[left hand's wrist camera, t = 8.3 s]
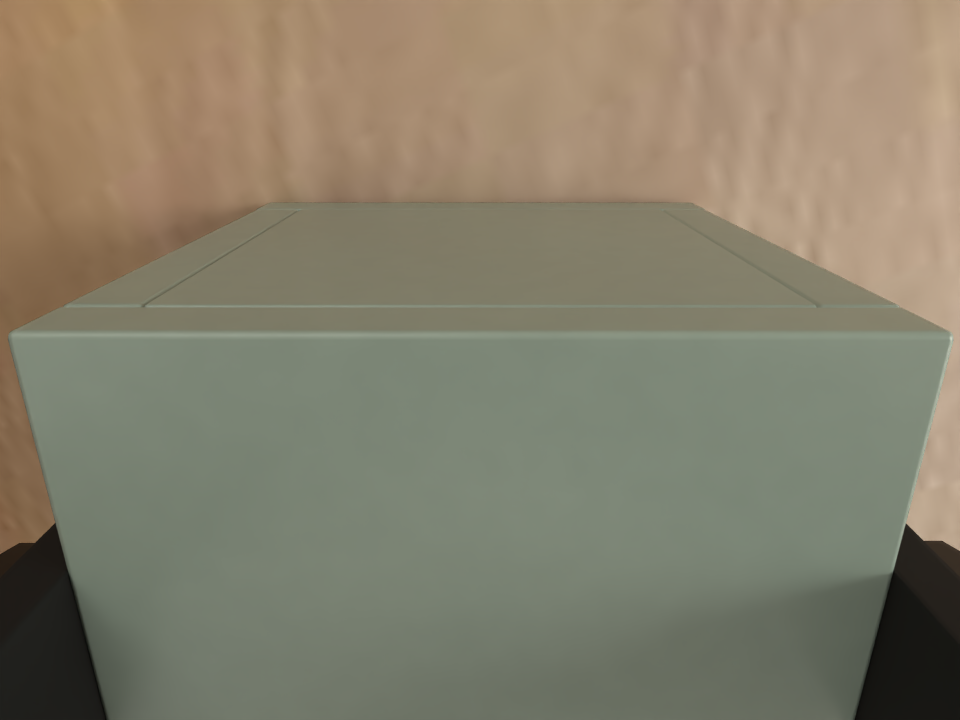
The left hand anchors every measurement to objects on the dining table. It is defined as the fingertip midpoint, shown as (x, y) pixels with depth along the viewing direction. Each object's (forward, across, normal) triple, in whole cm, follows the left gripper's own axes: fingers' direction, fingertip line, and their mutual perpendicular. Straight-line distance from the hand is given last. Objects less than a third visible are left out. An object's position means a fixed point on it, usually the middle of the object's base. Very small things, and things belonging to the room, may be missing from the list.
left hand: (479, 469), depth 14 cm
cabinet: (+5, 0, -6) cm, 8 cm away
